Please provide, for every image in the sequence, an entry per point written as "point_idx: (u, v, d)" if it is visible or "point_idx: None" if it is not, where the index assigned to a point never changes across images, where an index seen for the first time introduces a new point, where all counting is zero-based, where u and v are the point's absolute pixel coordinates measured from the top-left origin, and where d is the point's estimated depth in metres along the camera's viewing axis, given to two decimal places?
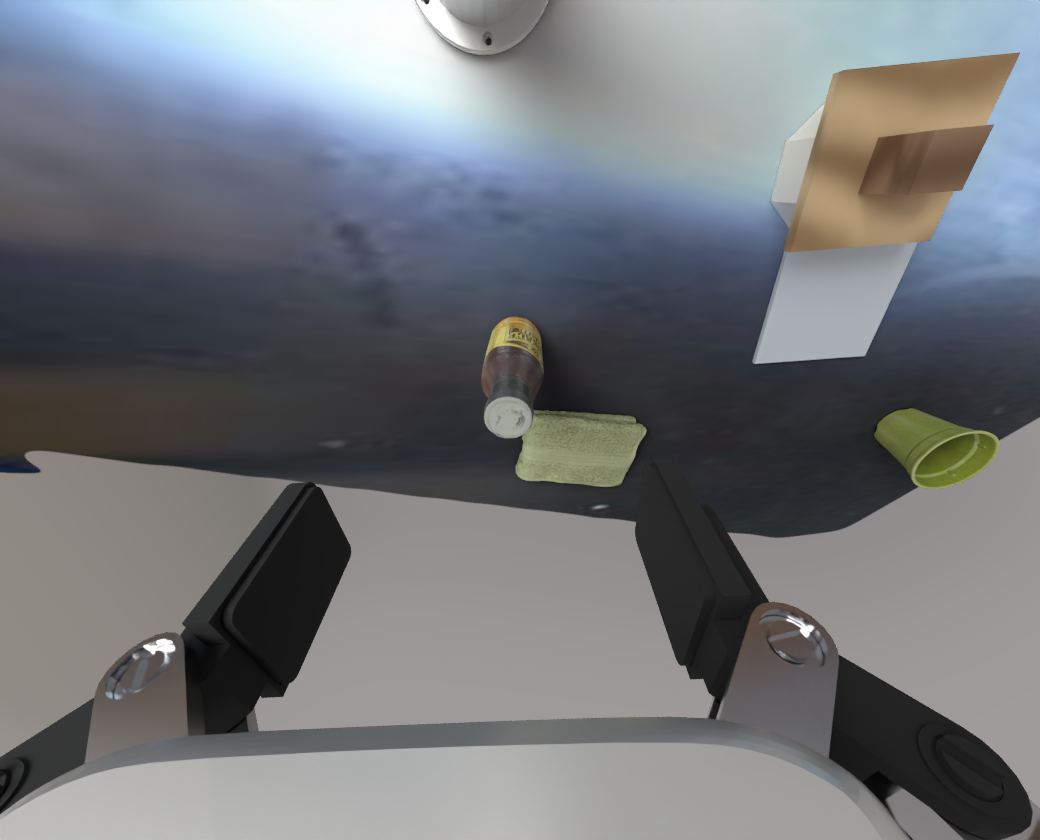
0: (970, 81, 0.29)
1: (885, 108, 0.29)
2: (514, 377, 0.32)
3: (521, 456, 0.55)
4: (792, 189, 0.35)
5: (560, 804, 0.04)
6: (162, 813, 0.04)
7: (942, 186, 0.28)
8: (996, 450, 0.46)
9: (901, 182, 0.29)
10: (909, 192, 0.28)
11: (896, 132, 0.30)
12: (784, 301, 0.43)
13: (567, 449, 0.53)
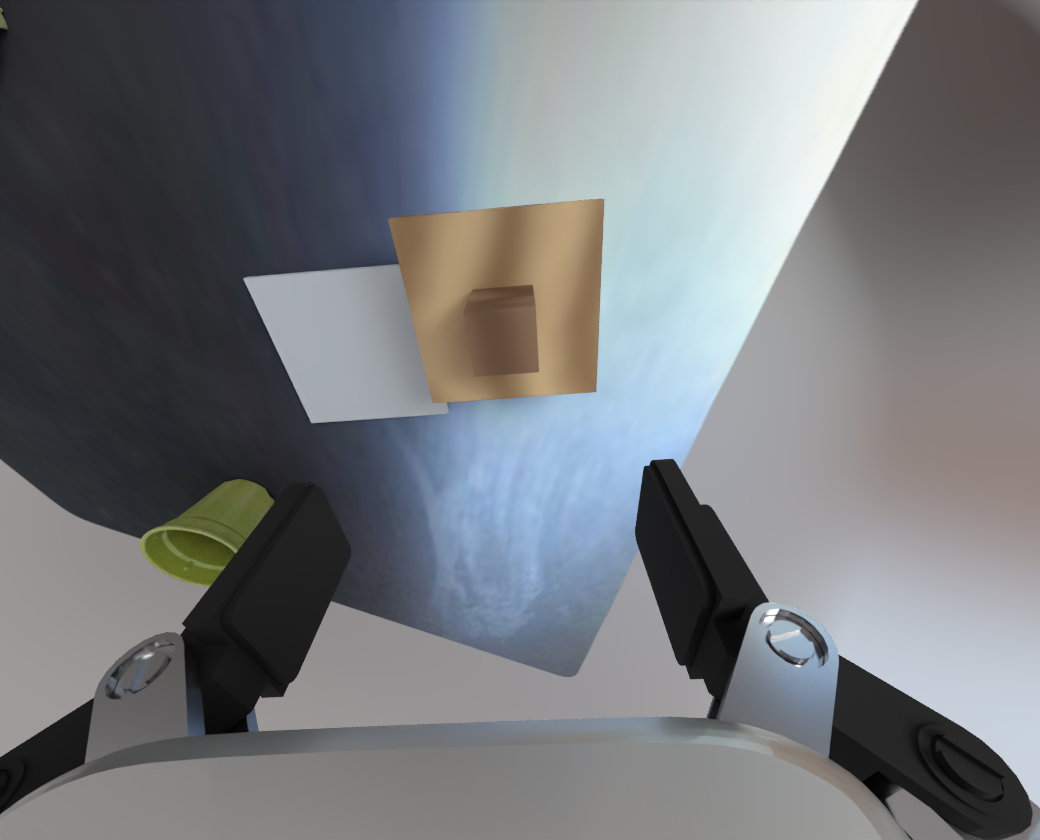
0: (577, 360, 0.27)
1: (560, 277, 0.24)
2: None
3: None
4: None
5: (560, 805, 0.04)
6: (162, 813, 0.04)
7: (476, 351, 0.21)
8: None
9: (480, 305, 0.21)
10: (466, 312, 0.20)
11: (537, 304, 0.25)
12: (345, 287, 0.30)
13: None
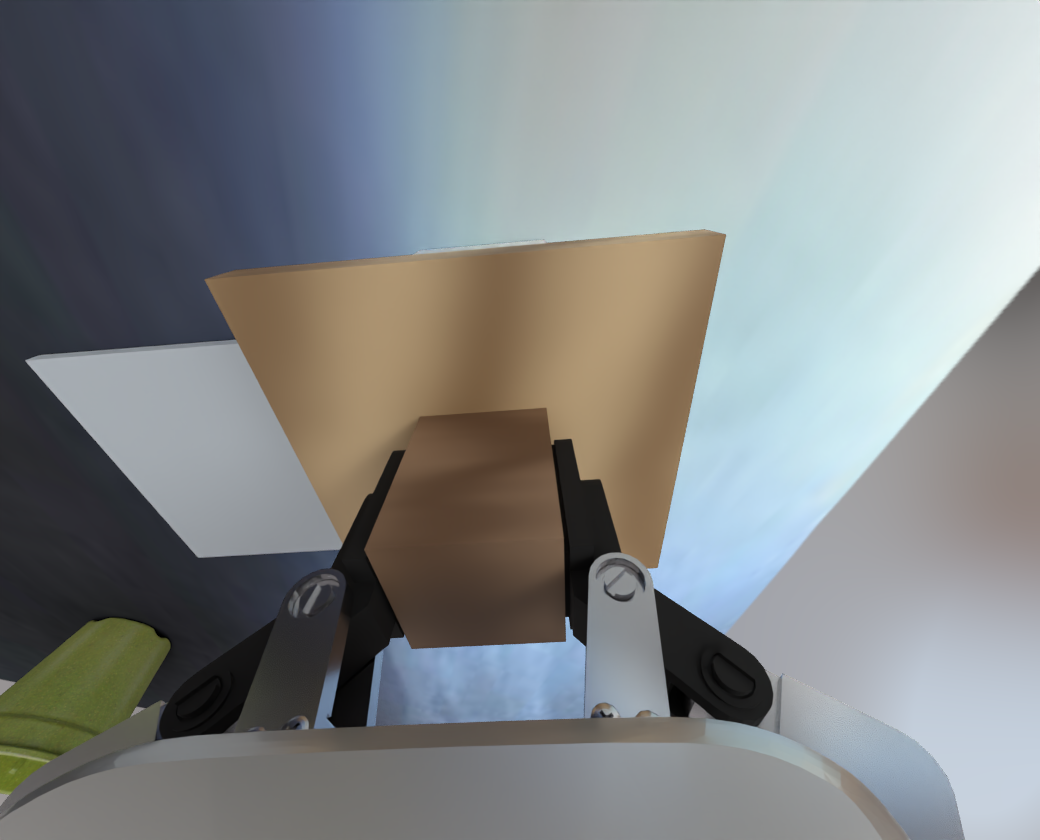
0: (629, 525, 0.14)
1: (606, 395, 0.11)
2: None
3: None
4: None
5: (560, 805, 0.04)
6: (162, 813, 0.04)
7: (412, 613, 0.09)
8: None
9: (417, 506, 0.08)
10: (372, 549, 0.07)
11: None
12: (212, 374, 0.17)
13: None
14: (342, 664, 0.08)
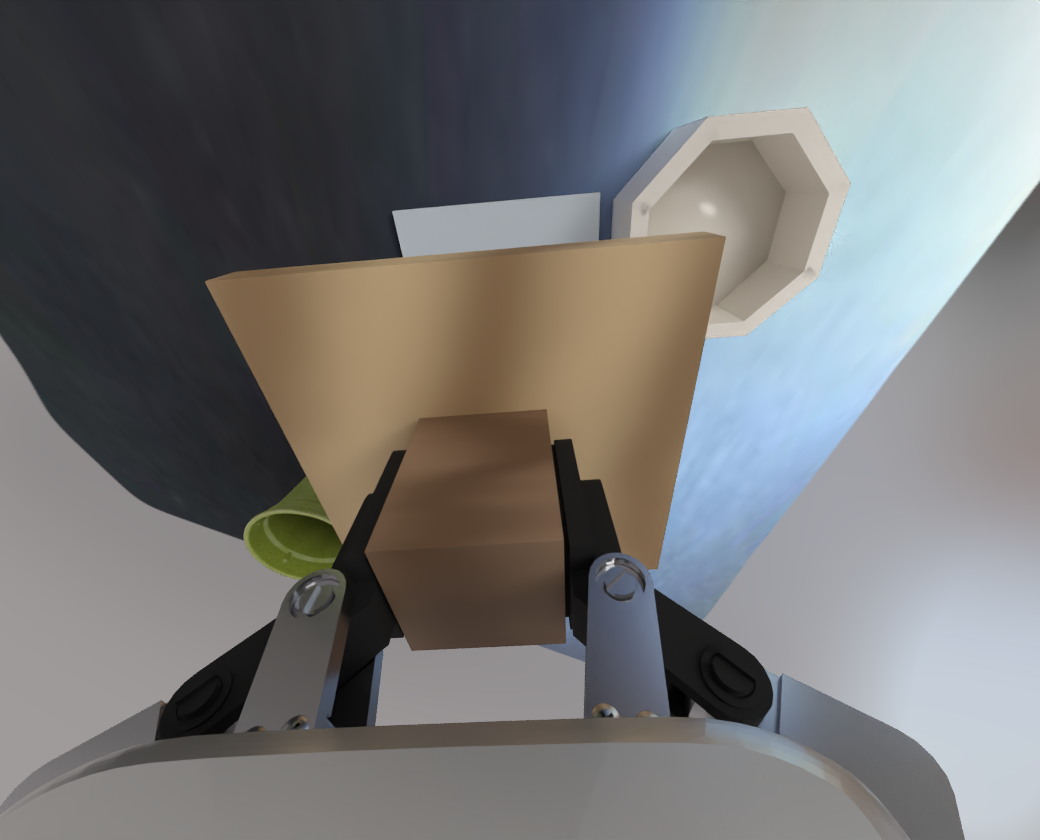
0: (629, 526, 0.14)
1: (607, 396, 0.11)
2: None
3: None
4: None
5: (560, 805, 0.04)
6: (162, 813, 0.04)
7: (412, 616, 0.09)
8: None
9: (418, 508, 0.08)
10: (372, 551, 0.07)
11: None
12: (511, 223, 0.25)
13: None
14: (342, 664, 0.08)
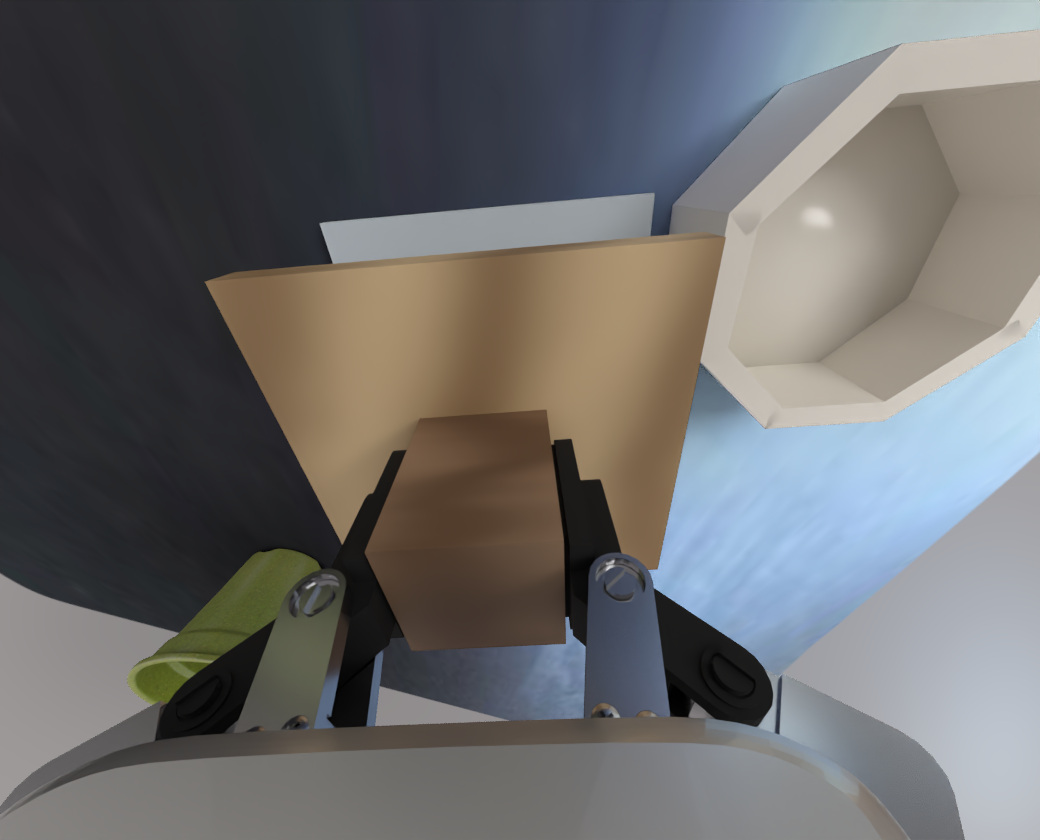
0: (629, 526, 0.14)
1: (607, 397, 0.11)
2: None
3: None
4: None
5: (561, 804, 0.04)
6: (162, 813, 0.04)
7: (412, 616, 0.09)
8: None
9: (418, 509, 0.08)
10: (372, 551, 0.07)
11: None
12: (510, 242, 0.16)
13: None
14: (342, 664, 0.08)
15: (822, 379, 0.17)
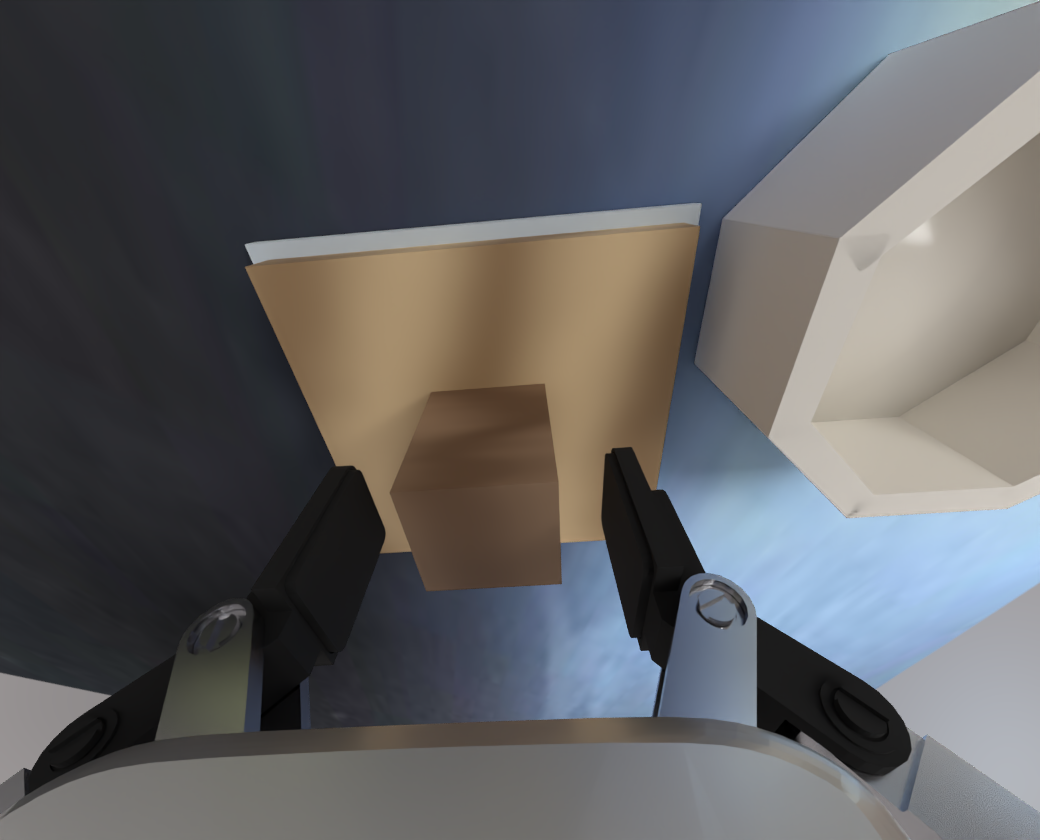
0: None
1: (598, 371, 0.12)
2: None
3: None
4: None
5: (560, 805, 0.04)
6: (162, 813, 0.04)
7: (427, 555, 0.10)
8: None
9: (433, 460, 0.10)
10: (396, 492, 0.09)
11: (552, 415, 0.13)
12: None
13: None
14: (262, 693, 0.07)
15: (913, 445, 0.13)
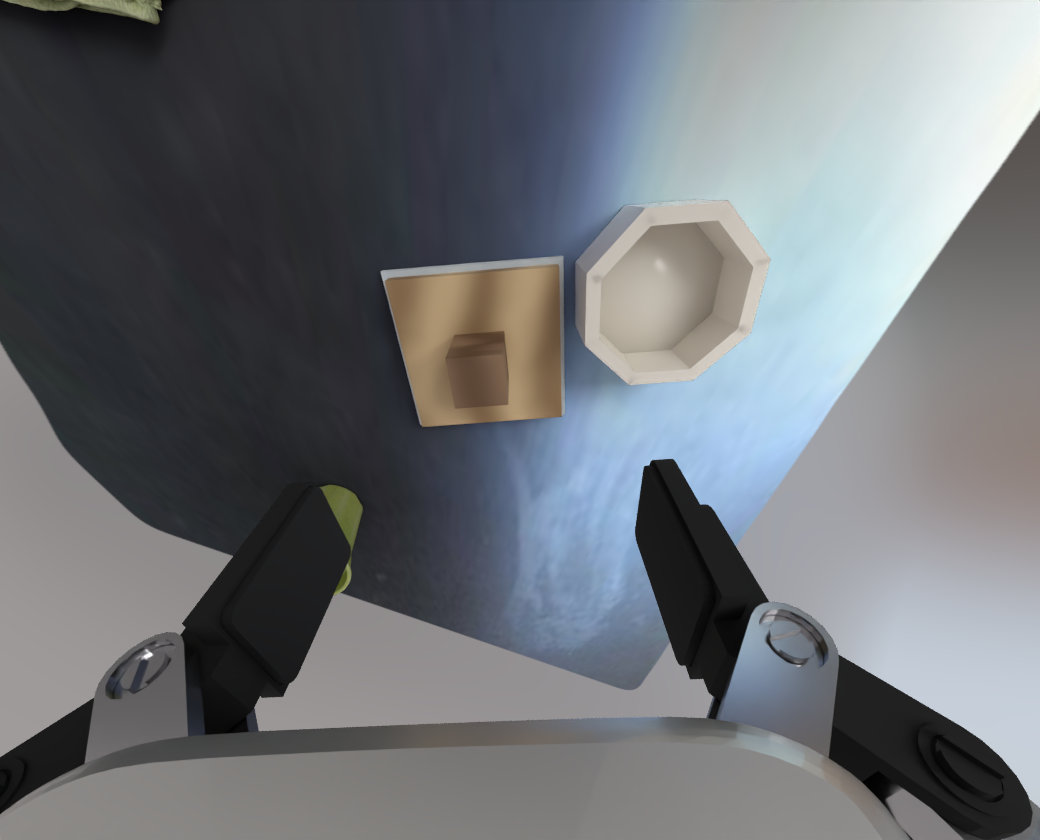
0: (544, 390, 0.32)
1: (527, 325, 0.29)
2: None
3: None
4: (653, 205, 0.24)
5: (560, 805, 0.04)
6: (162, 813, 0.04)
7: (456, 389, 0.26)
8: None
9: (459, 352, 0.26)
10: (447, 358, 0.25)
11: (508, 346, 0.30)
12: None
13: None
14: None
15: (666, 358, 0.30)
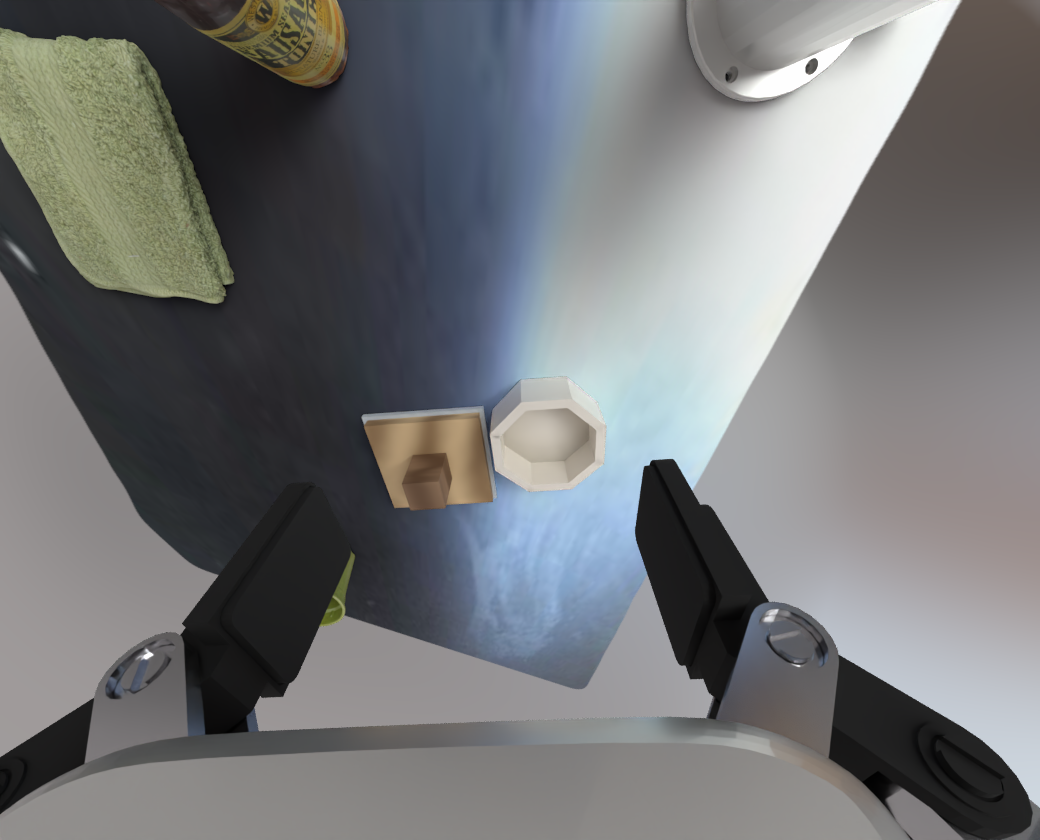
0: (478, 486, 0.46)
1: (461, 449, 0.43)
2: None
3: (15, 34, 0.24)
4: (531, 392, 0.37)
5: (560, 804, 0.04)
6: (162, 813, 0.04)
7: (410, 499, 0.40)
8: (330, 623, 0.51)
9: (411, 476, 0.40)
10: (403, 484, 0.39)
11: (450, 461, 0.44)
12: None
13: (97, 154, 0.27)
14: None
15: (557, 470, 0.43)
